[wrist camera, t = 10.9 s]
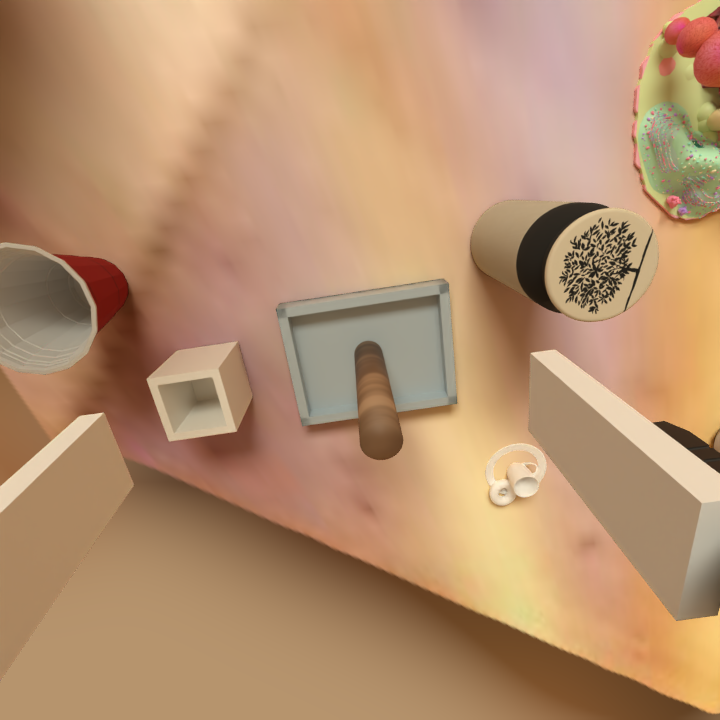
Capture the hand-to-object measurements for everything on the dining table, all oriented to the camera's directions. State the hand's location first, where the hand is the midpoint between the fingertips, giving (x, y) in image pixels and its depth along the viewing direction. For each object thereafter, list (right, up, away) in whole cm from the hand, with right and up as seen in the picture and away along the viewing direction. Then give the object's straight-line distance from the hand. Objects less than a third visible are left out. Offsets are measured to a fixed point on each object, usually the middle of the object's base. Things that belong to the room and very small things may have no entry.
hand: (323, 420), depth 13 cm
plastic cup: (-26, +10, +32) cm, 43 cm away
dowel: (+2, +3, +35) cm, 35 cm away
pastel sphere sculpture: (+40, +26, +28) cm, 56 cm away
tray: (+2, +3, +36) cm, 36 cm away
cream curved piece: (+18, -12, +43) cm, 48 cm away
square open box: (-16, 0, +36) cm, 39 cm away
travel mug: (+17, +15, +32) cm, 39 cm away
